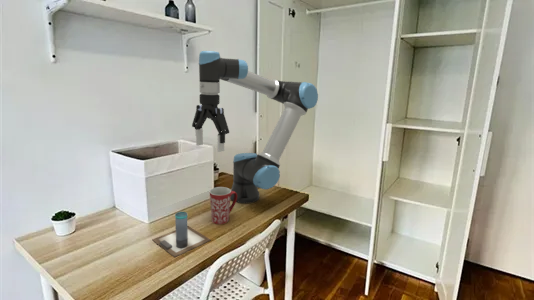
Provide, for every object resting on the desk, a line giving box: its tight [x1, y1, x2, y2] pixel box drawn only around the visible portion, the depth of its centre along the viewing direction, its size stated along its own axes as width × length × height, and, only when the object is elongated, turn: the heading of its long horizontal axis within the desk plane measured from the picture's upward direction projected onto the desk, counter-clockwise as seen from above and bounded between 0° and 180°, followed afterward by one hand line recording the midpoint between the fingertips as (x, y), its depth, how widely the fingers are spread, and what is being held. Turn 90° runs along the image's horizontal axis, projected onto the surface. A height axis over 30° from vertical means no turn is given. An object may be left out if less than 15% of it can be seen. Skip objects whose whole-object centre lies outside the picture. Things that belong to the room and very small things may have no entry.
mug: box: [208, 186, 237, 225], centre depth 124 cm, size 13×9×14 cm
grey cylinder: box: [174, 211, 189, 248], centre depth 103 cm, size 4×4×12 cm
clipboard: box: [152, 225, 211, 258], centre depth 108 cm, size 15×15×1 cm
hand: (209, 148), depth 116 cm, fingers open, 13 cm apart
